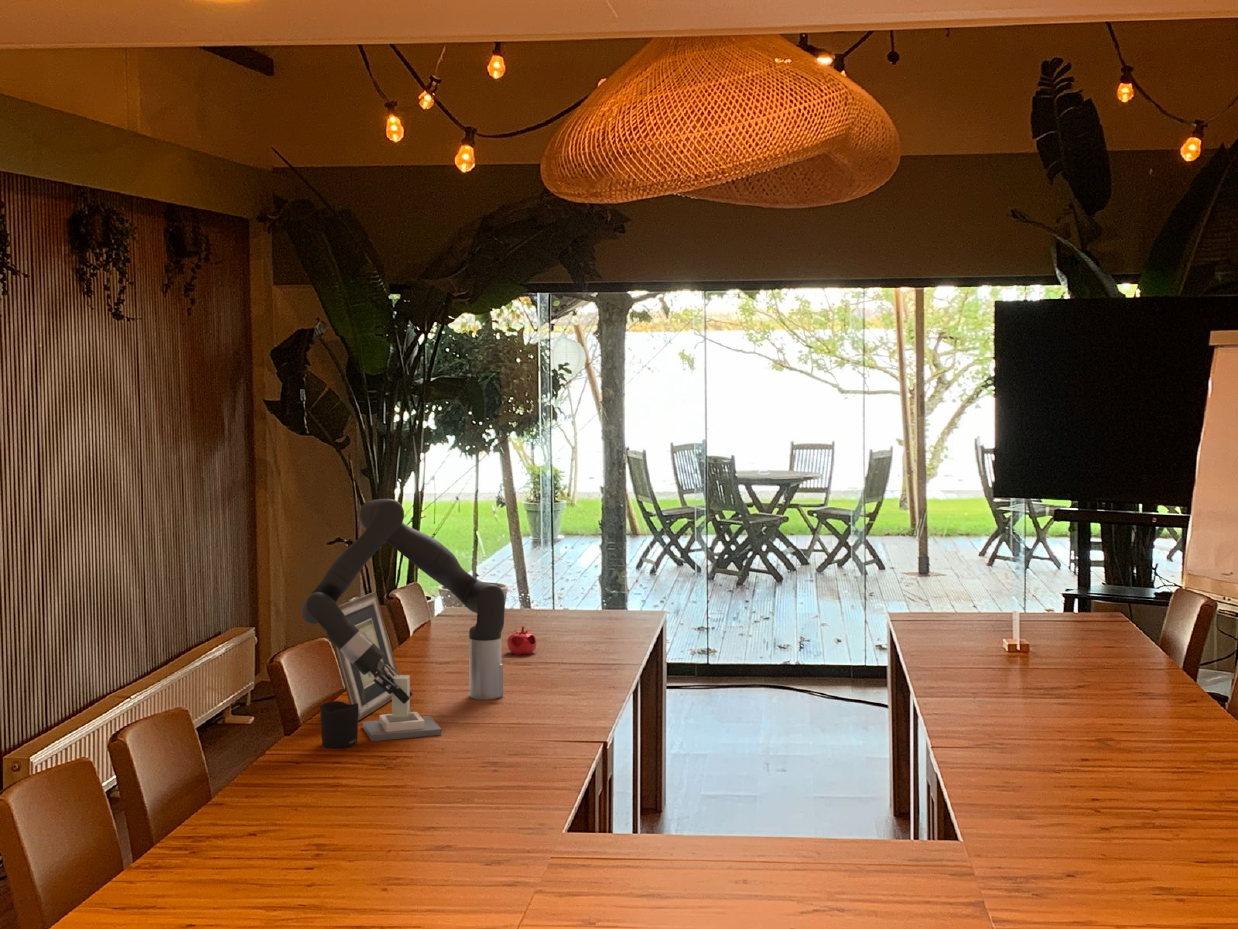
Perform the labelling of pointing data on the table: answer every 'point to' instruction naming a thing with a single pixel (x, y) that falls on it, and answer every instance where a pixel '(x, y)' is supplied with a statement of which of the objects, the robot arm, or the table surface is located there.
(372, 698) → the picture frame
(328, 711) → the pen holder
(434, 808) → the table surface
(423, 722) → the grey base with frame
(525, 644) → the pomegranate
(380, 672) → the robot arm
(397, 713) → the sage block
